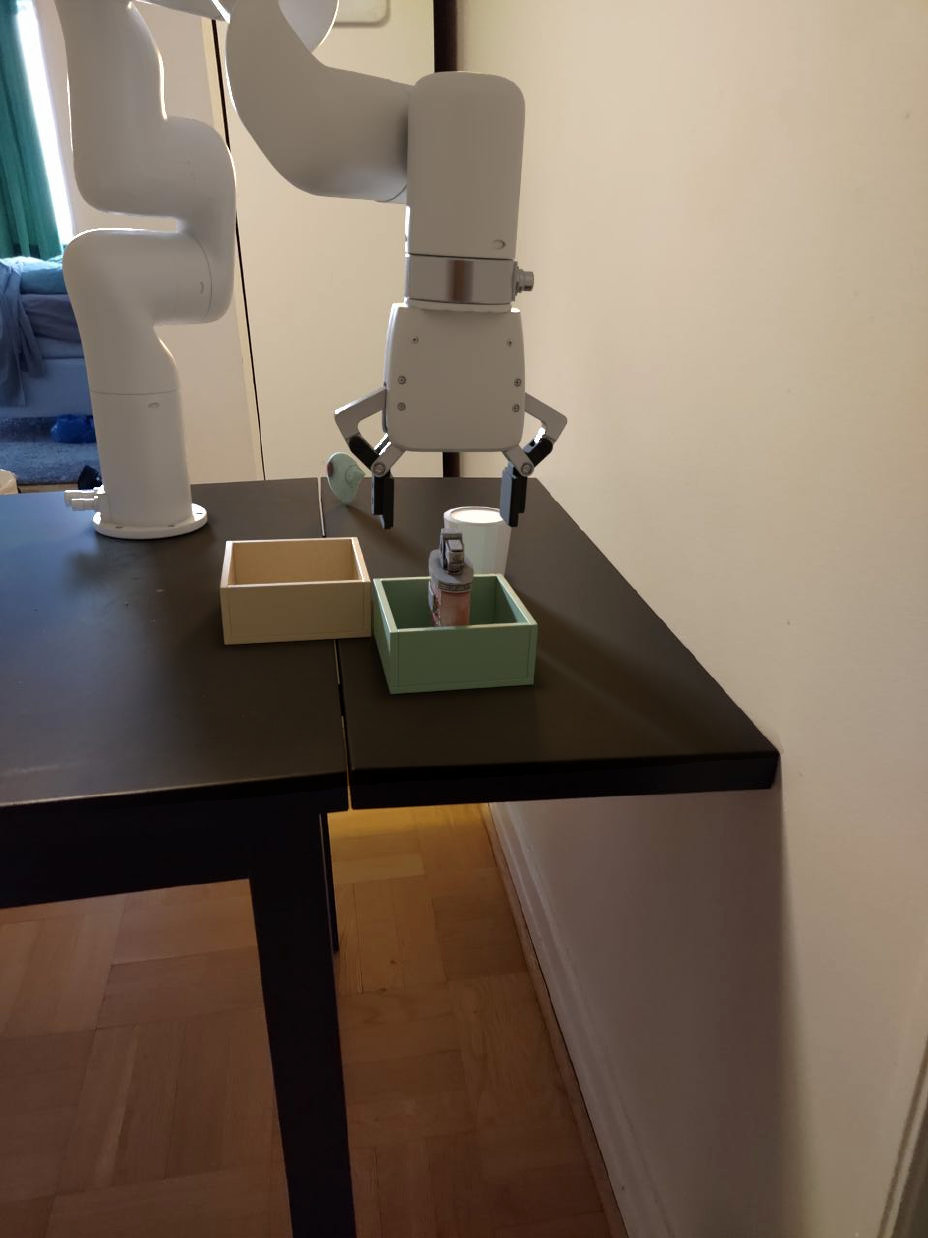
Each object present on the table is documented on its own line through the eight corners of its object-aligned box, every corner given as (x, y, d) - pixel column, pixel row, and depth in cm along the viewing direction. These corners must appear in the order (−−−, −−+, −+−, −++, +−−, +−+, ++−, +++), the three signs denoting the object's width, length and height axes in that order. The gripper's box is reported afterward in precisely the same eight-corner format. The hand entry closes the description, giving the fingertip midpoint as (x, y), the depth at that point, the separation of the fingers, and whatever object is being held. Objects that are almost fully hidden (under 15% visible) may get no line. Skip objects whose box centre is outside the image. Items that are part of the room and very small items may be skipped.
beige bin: (224, 645, 71) (219, 587, 69) (230, 591, 82) (226, 540, 80) (371, 637, 73) (370, 581, 71) (358, 586, 84) (357, 536, 82)
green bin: (390, 694, 64) (390, 632, 62) (373, 633, 74) (373, 578, 72) (533, 684, 66) (538, 624, 64) (498, 626, 76) (501, 573, 74)
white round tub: (503, 596, 83) (507, 527, 80) (434, 589, 84) (436, 521, 81) (513, 573, 89) (517, 508, 86) (449, 566, 90) (451, 502, 87)
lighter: (423, 631, 73) (425, 518, 69) (462, 630, 74) (466, 518, 70) (432, 673, 66) (435, 551, 62) (476, 672, 66) (481, 550, 62)
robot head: (371, 509, 109) (370, 457, 106) (341, 513, 107) (340, 460, 104) (345, 494, 115) (344, 444, 112) (317, 497, 113) (315, 447, 110)
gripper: (561, 287, 64) (541, 507, 71) (329, 277, 60) (332, 509, 67) (595, 294, 57) (569, 536, 64) (336, 283, 54) (339, 541, 61)
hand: (448, 522), depth 66 cm, fingers open, 9 cm apart
